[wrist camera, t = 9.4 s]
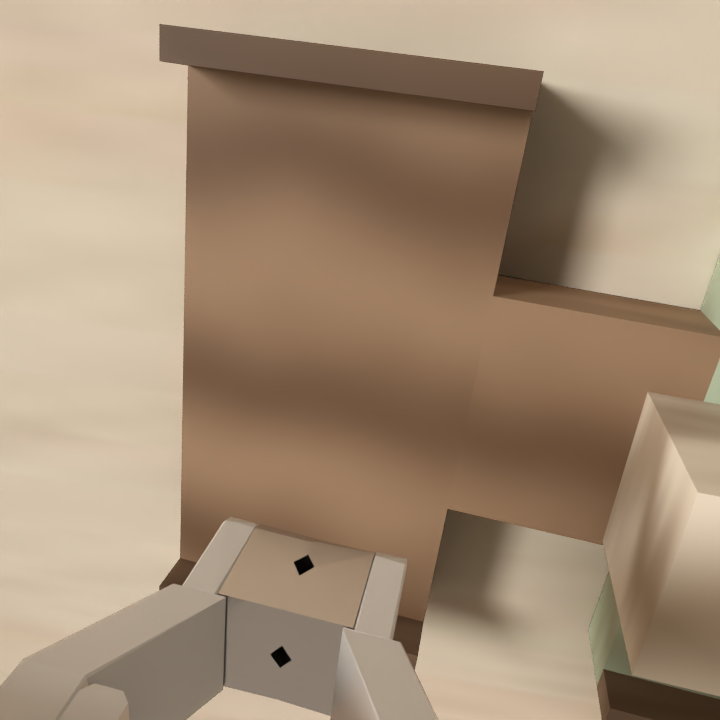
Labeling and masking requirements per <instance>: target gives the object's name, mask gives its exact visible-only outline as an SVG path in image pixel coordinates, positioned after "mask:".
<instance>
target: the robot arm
mask: <svg viewBox="0 0 720 720" xmlns="http://www.w3.org/2000/svg"><path fill="white" fill-rule="evenodd" d="M406 568H407V559H406V558H402V557H397V556H393V555H388V554H384V553H379V552H377V553H376V552H372V551H368V550H364V549H359V548H355V547H351V546H346V545H342V544H338V543H333V542H329V541H325V540H320V539H316V538H312V537H308V536H304V535H301V534H297V533H293V532H289V531H285V530H282V529H278V528H274V527H270V526H267V525H263V524H256V523H253V522H249V521H245V520H241V519H238V518H234V517H229V518H228V519H227V520H225V521H224V522H223V523H222V525H221V526H220V528H219V529H218V531H217V533H216V534H215V536H214V537H213V539H212V540H211V542H210V543H209V545H208V546H207V548H206V550H205V551H204V553H203V554H202V556H201V557H200V559H199V560H198V562H197V563H196V565H195V567H194V568H193V570H192V571H191V573H190V574H189V576H188V577H187V579H186V580H185V582H184V584H183V585H182V586H181V585H177V584H171V585H169V586H167V587H166V588H164V589H162V590H160V591H158V592H156V593H154V594H152V595H150V596H148V597H146V598H144V599H142V600H140V601H138V602H136V603H134V604H132V605H130V606H128V607H126V608H124V609H122V610H120V611H118V612H116V613H114V614H112V615H110V616H108V617H106V618H104V619H102V620H100V621H98V622H96V623H94V624H92V625H90V626H88V627H86V628H84V629H82V630H80V631H78V632H76V633H74V634H72V635H70V636H68V637H66V638H64V639H62V640H60V641H58V642H56V643H54V644H52V645H50V646H48V647H46V648H44V649H42V650H40V651H38V652H36V653H34V654H32V655H30V656H28V657H27V658H25V659H23V660H22V661H21V662H20V664H19V665H18V666H17V667H16V668H15V670H14V671H13V672H12V673H11V674H10V675H9V677H8V678H7V679H6V680H5V681H4V683H3V684H2V685H1V686H0V720H186V719H187V718H189V717H190V716H191V715H192V714H194V713H195V712H196V711H197V710H198V709H200V708H201V707H202V706H203V705H205V704H206V703H207V702H208V701H210V700H211V699H212V698H213V697H215V696H216V695H217V694H218V693H220V692H221V691H222V690H223V686H225V687H229V688H233V689H237V690H242V691H246V692H250V693H254V694H258V695H262V696H266V697H270V698H274V699H278V700H281V701H284V702H287V703H291V704H294V705H297V706H300V707H303V708H307V709H310V710H313V711H316V712H320V713H323V714H326V715H329V716H331V718H330V719H331V720H438V718H437V716H436V714H435V712H434V710H433V708H432V706H431V704H430V702H429V700H428V697H427V695H426V693H425V691H424V689H423V687H422V685H421V683H420V681H419V679H418V677H417V674H416V672H415V670H414V668H413V666H412V664H411V662H410V660H409V658H408V656H407V654H406V652H405V649H404V647H403V645H402V643H401V642H398V641H394V640H393V637H394V631H395V626H396V621H397V616H398V610H399V605H400V600H401V595H402V589H403V584H404V579H405V573H406Z"/></svg>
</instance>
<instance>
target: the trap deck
mask: <svg viewBox="0 0 720 720" xmlns="http://www.w3.org/2000/svg"><path fill="white" fill-rule="evenodd" d="M160 61H162V62H169V63H176V64H182V65H188V108H187V170H186V232H185V294H184V356H183V417H182V479H181V541H180V559H179V560H178V562H177V563H176V564H175V566H174V567H173V569H172V570H171V571H170V573H169V574H168V575H167V577H166V578H165V579H164V581H163V582H162V583H161V585H160V586H159V591H160V590H162V589H164V588H166V587H167V586H169V585H171V584H177V585H181V586H182V585H183V584H184V582H185V580H186V579H187V577H188V576H189V574H190V573H191V571H192V570H193V568H194V567H195V565H196V563H197V562H198V560H199V559H200V557H201V556H202V554H203V553H204V551H205V550H206V548H207V546H208V545H209V543H210V542H211V540H212V539H213V537H214V536H215V534H216V533H217V531H218V529H219V528H220V526H221V525H222V523H223V522H224V521H225V520H227V519H228V518H229V517H234V518H238V519H241V520H245V521H249V522H253V523H256V524H263V525H267V526H270V527H274V528H278V529H282V530H285V531H289V532H293V533H297V534H301V535H304V536H308V537H312V538H316V539H320V540H325V541H329V542H333V543H338V544H342V545H346V546H351V547H355V548H359V549H364V550H368V551H372V552H376V553H377V552H379V553H384V554H388V555H393V556H397V557H402V558H406V559H407V568H406V573H405V579H404V584H403V589H402V595H401V600H400V605H399V610H398V616H397V621H396V626H395V631H394V637H393V640H394V641H398V642H401V643H402V645H403V647H404V649H405V652H406V654H407V656H408V658H409V660H410V662H411V664H412V666H413V668H414V670H415V666H416V661H417V657H418V651H419V645H420V639H421V633H422V627H423V621H424V617H425V612H426V607H427V603H428V598H429V593H430V589H431V584H432V579H433V575H434V570H435V565H436V561H437V556H438V551H439V547H440V542H441V537H442V533H443V528H444V523H445V519H446V514H447V509H450V510H455V511H459V512H463V513H468V514H472V515H476V516H481V517H485V518H489V519H493V520H498V521H502V522H506V523H511V524H515V525H519V526H523V527H528V528H532V529H536V530H541V531H545V532H549V533H554V534H558V535H562V536H566V537H571V538H575V539H579V540H584V541H588V542H592V543H596V544H601V545H603V538H604V535H605V531H606V528H607V525H608V521H609V518H610V515H611V512H612V508H613V505H614V502H615V498H616V495H617V492H618V488H619V485H620V482H621V479H622V475H623V472H624V469H625V465H626V462H627V459H628V455H629V452H630V449H631V445H632V442H633V439H634V436H635V432H636V429H637V426H638V422H639V419H640V416H641V412H642V409H643V406H644V403H645V399H646V396H647V393H648V392H651V393H657V394H663V395H669V396H675V397H681V398H686V399H692V400H698V401H704V402H710V403H716V404H720V256H719V259H718V262H717V265H716V267H715V270H714V273H713V276H712V279H711V282H710V285H709V287H708V290H707V293H706V296H705V299H704V302H703V305H702V307H701V310H695V309H689V308H684V307H678V306H672V305H666V304H661V303H655V302H649V301H643V300H638V299H632V298H626V297H620V296H615V295H609V294H603V293H597V292H591V291H586V290H580V289H574V288H568V287H563V286H557V285H551V284H545V283H540V282H534V281H528V280H522V279H517V278H511V277H505V276H499V275H498V271H499V267H500V262H501V257H502V253H503V248H504V243H505V239H506V234H507V229H508V225H509V220H510V215H511V211H512V206H513V201H514V197H515V192H516V187H517V183H518V178H519V173H520V169H521V164H522V159H523V155H524V150H525V145H526V141H527V136H528V131H529V127H530V122H531V117H532V113H533V111H535V109H536V105H537V100H538V95H539V91H540V86H541V82H542V77H543V72H544V71H536V70H528V69H520V68H512V67H504V66H496V65H488V64H480V63H471V62H463V61H455V60H447V59H439V58H431V57H423V56H415V55H407V54H398V53H390V52H382V51H374V50H366V49H358V48H350V47H342V46H333V45H325V44H317V43H309V42H301V41H293V40H285V39H277V38H268V37H260V36H252V35H244V34H236V33H228V32H220V31H212V30H203V29H195V28H187V27H179V26H171V25H163V24H160ZM588 632H589V638H590V645H591V651H592V658H593V664H594V671H595V677H596V684H597V690H598V697H599V703H600V710H601V716H602V720H720V696H716V695H712V694H707V693H703V692H699V691H695V690H691V689H687V688H683V687H678V686H674V685H670V684H666V683H662V682H658V681H654V680H650V679H645V678H641V677H637V676H633V675H632V673H631V668H630V664H629V659H628V654H627V650H626V645H625V641H624V636H623V632H622V627H621V623H620V618H619V613H618V609H617V604H616V600H615V595H614V591H613V586H612V582H611V577H610V572H609V573H608V576H607V578H606V581H605V584H604V587H603V590H602V593H601V596H600V598H599V601H598V604H597V607H596V610H595V613H594V615H593V618H592V621H591V624H590V627H589V630H588Z"/></svg>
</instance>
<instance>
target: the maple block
mask: <svg viewBox="0 0 720 720" xmlns="http://www.w3.org/2000/svg"><path fill="white" fill-rule="evenodd" d="M603 545H604V550H605V554H606V559H607V563H608V568H609V572H610V577H611V582H612V586H613V591H614V595H615V600H616V604H617V609H618V613H619V618H620V623H621V627H622V632H623V636H624V641H625V645H626V650H627V654H628V659H629V664H630V668H631V673H632V675H633V676H637V677H641V678H645V679H650V680H654V681H658V682H662V683H666V684H670V685H674V686H678V687H683V688H687V689H691V690H695V691H699V692H703V693H707V694H712V695H716V696H720V404H716V403H710V402H704V401H698V400H692V399H686V398H681V397H675V396H669V395H663V394H657V393H651V392H648V393H647V396H646V399H645V403H644V406H643V409H642V412H641V416H640V419H639V422H638V426H637V429H636V432H635V436H634V439H633V442H632V445H631V449H630V452H629V455H628V459H627V462H626V465H625V469H624V472H623V475H622V479H621V482H620V485H619V488H618V492H617V495H616V498H615V502H614V505H613V508H612V512H611V515H610V518H609V521H608V525H607V528H606V531H605V535H604V538H603Z"/></svg>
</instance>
